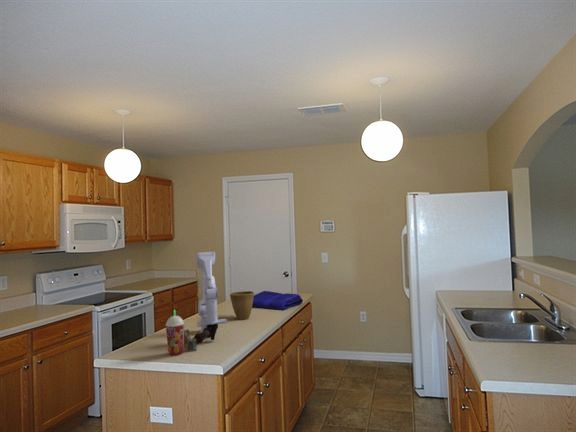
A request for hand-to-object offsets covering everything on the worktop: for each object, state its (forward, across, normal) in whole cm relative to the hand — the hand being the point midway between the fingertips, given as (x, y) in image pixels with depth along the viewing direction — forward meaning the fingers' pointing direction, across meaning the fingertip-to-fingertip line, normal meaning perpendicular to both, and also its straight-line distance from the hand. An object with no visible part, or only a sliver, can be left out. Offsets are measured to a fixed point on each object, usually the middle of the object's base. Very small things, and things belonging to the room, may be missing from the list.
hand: (212, 339), depth 200 cm
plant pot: (+1, +27, +41) cm, 50 cm away
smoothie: (+1, -19, -11) cm, 22 cm away
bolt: (+2, -5, +5) cm, 7 cm away
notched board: (+1, -12, 0) cm, 12 cm away
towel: (+2, +58, +70) cm, 91 cm away
